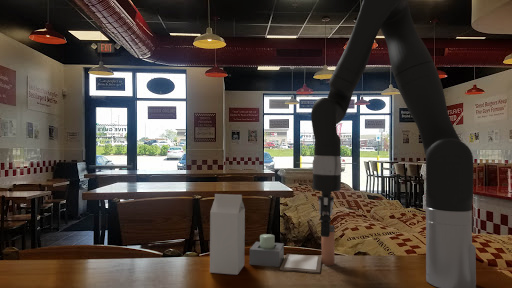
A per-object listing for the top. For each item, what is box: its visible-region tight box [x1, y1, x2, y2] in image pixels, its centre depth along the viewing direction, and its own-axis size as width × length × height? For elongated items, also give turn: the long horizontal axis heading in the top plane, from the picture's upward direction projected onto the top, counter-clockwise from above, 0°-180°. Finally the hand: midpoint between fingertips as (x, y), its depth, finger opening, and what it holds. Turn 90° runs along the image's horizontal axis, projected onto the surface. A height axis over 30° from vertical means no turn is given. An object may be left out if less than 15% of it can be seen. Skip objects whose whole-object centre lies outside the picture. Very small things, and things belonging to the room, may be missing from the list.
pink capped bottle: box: [321, 224, 336, 266], centre depth 93 cm, size 4×4×10 cm
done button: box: [259, 233, 276, 249], centre depth 95 cm, size 4×4×5 cm
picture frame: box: [279, 253, 322, 275], centre depth 92 cm, size 10×13×1 cm
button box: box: [248, 241, 285, 268], centre depth 95 cm, size 8×8×4 cm
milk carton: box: [209, 193, 246, 275], centre depth 88 cm, size 7×7×19 cm
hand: (325, 232), depth 93 cm, fingers open, 8 cm apart
